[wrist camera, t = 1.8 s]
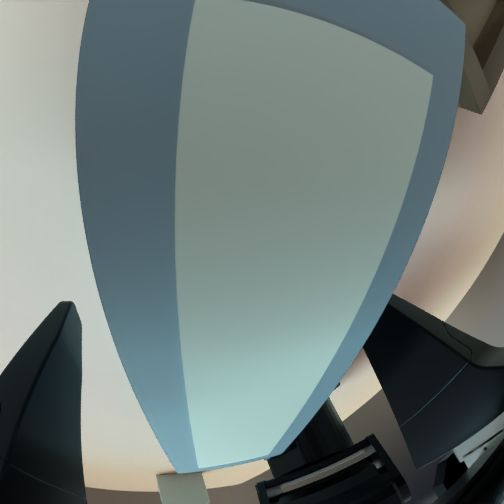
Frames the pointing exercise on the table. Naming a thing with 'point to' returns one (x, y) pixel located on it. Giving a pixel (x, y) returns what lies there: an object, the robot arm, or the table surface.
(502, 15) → the tray
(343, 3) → the frame block
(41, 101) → the table surface
